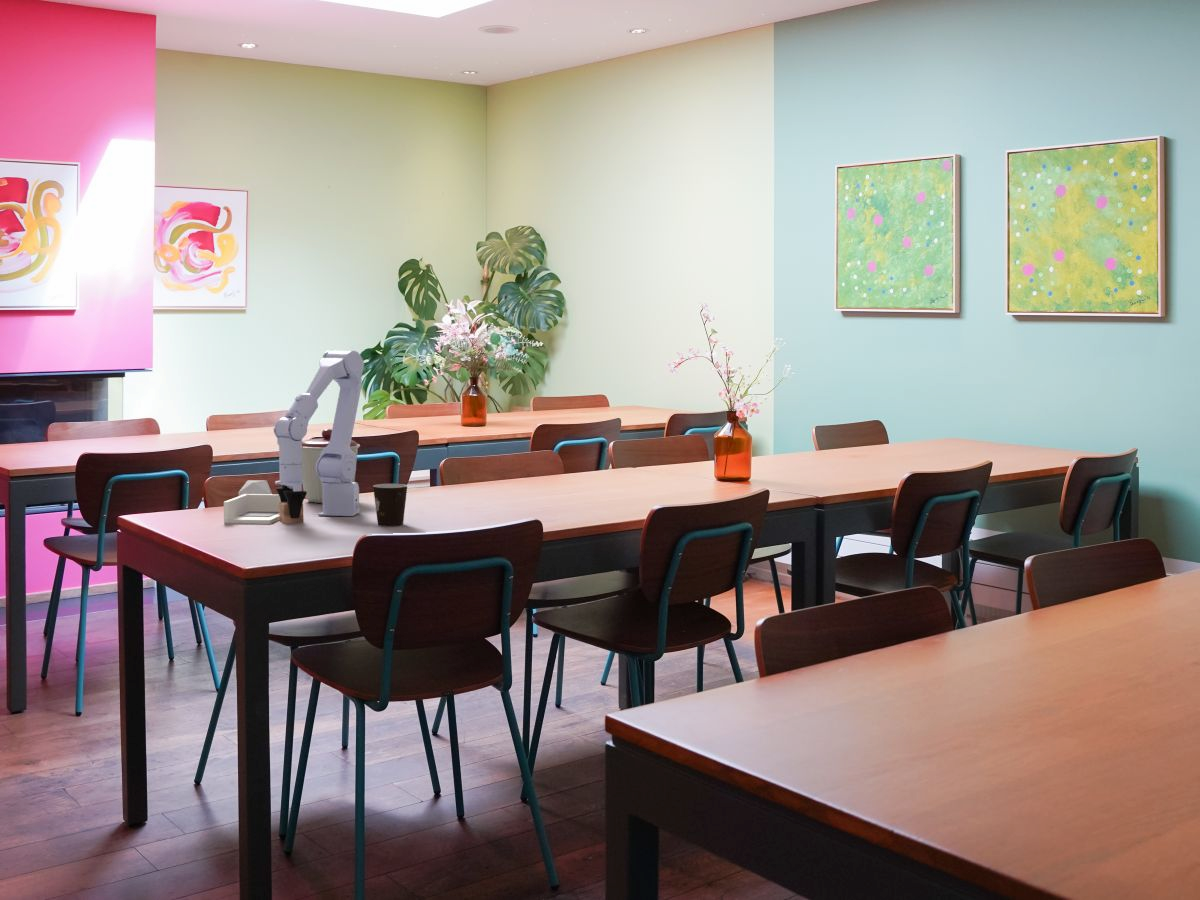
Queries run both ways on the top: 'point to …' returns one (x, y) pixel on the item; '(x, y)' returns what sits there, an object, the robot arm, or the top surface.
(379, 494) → the coffee mug
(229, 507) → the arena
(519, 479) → the top surface
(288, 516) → the cube
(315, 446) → the canister
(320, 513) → the robot arm
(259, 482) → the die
